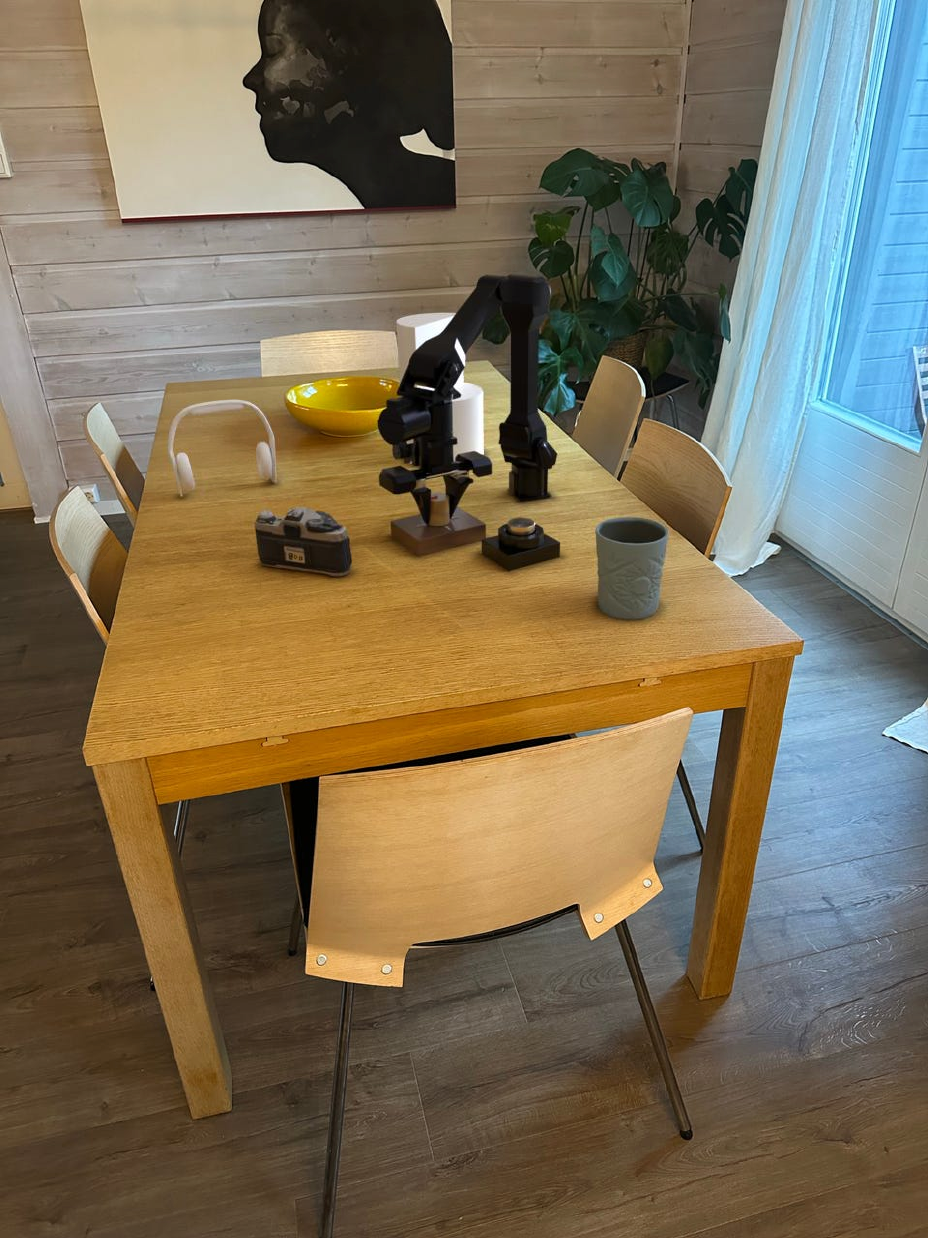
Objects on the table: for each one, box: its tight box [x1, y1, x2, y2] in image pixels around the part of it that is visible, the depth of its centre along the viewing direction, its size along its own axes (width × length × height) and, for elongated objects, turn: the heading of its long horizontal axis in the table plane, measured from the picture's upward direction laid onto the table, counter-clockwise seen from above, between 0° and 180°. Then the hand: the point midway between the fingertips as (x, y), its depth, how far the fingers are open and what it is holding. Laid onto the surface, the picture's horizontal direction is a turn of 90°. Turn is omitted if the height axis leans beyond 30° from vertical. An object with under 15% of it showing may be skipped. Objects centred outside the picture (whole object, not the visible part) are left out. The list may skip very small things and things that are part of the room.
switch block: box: [481, 523, 561, 572], centre depth 146 cm, size 10×8×4 cm
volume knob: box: [428, 492, 450, 526], centre depth 152 cm, size 4×4×5 cm
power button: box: [506, 517, 536, 537], centre depth 145 cm, size 4×4×2 cm
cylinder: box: [396, 312, 484, 465], centre depth 187 cm, size 17×17×28 cm
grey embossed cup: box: [595, 516, 670, 621], centre depth 129 cm, size 10×10×12 cm
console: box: [389, 506, 487, 558], centre depth 153 cm, size 13×10×3 cm
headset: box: [167, 399, 278, 498], centre depth 172 cm, size 20×7×18 cm, turn 112°
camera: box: [254, 505, 353, 577], centre depth 144 cm, size 16×10×10 cm, turn 71°
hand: (437, 520), depth 153 cm, fingers closed on volume knob, 4 cm apart
